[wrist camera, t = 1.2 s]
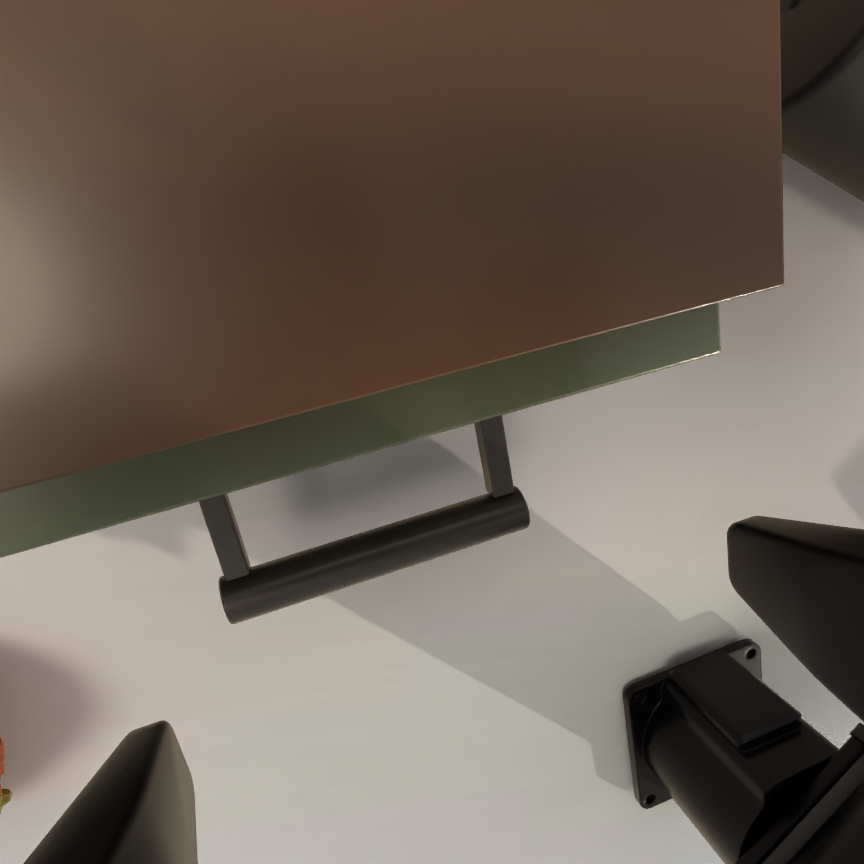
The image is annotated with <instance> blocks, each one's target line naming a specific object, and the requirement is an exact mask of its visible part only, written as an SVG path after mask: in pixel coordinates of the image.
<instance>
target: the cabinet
mask: <svg viewBox="0 0 864 864" xmlns="http://www.w3.org/2000/svg"><path fill="white" fill-rule="evenodd" d="M783 284H784V254H783V189H782V124H781V60H780V0H0V493H2V492H6V491H10V490H14V489H18V488H21V487H25V486H29V485H33V484H36V483H40V482H44V481H48V480H51V479H55V478H59V477H63V476H67V475H70V474H74V473H78V472H82V471H85V470H89V469H93V468H97V467H101V466H104V465H108V464H112V463H116V462H119V461H123V460H127V459H131V458H135V457H138V456H142V455H146V454H150V453H153V452H157V451H161V450H165V449H169V448H172V447H176V446H180V445H184V444H187V443H191V442H195V441H199V440H203V439H206V438H210V437H214V436H218V435H221V434H225V433H229V432H233V431H237V430H240V429H244V428H248V427H252V426H255V425H259V424H263V423H267V422H271V421H274V420H278V419H282V418H286V417H289V416H293V415H297V414H301V413H304V412H308V411H312V410H316V409H320V408H323V407H327V406H331V405H335V404H338V403H342V402H346V401H350V400H354V399H357V398H361V397H365V396H369V395H372V394H376V393H380V392H384V391H388V390H391V389H395V388H399V387H403V386H406V385H410V384H414V383H418V382H422V381H425V380H429V379H433V378H437V377H440V376H444V375H448V374H452V373H456V372H459V371H463V370H467V369H471V368H474V367H478V366H482V365H486V364H490V363H493V362H497V361H501V360H505V359H508V358H512V357H516V356H520V355H523V354H527V353H531V352H535V351H539V350H542V349H546V348H550V347H554V346H557V345H561V344H565V343H569V342H573V341H576V340H580V339H584V338H588V337H591V336H595V335H599V334H603V333H607V332H610V331H614V330H618V329H622V328H625V327H629V326H633V325H637V324H641V323H644V322H648V321H652V320H656V319H659V318H663V317H667V316H671V315H675V314H678V313H682V312H686V311H690V310H693V309H697V308H701V307H705V306H709V305H712V304H716V303H720V302H724V301H727V300H731V299H735V298H739V297H743V296H746V295H750V294H754V293H758V292H761V291H765V290H769V289H773V288H776V287H780V286H782V285H783Z"/></svg>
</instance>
